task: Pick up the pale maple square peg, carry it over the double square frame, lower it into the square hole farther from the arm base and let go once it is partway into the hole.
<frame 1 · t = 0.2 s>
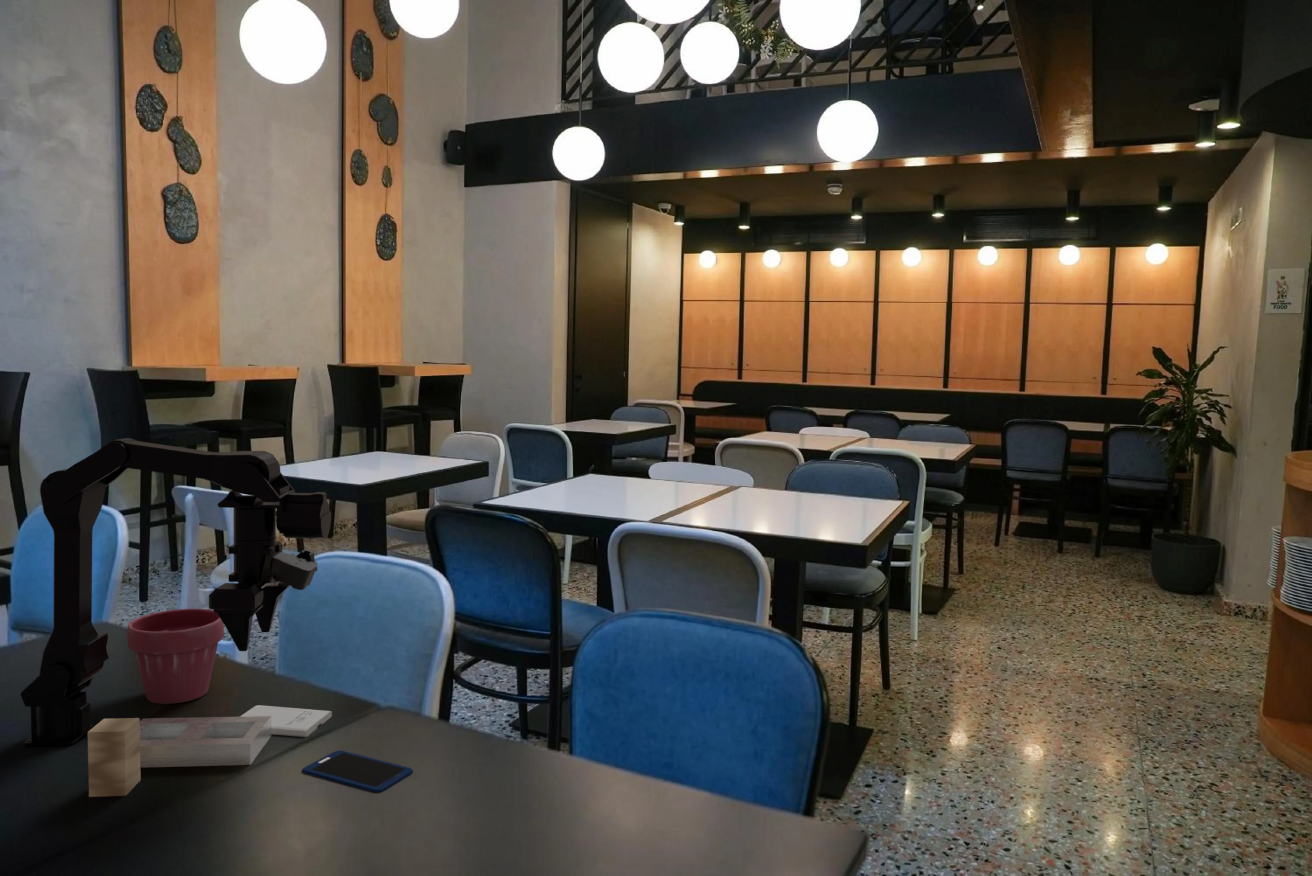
hand: (254, 641, 136), 14 cm above the table, fingers open, 9 cm apart
cell phone: (357, 775, 126), on the table
maple peg: (115, 788, 119), on the table
plant pot: (177, 695, 152), on the table
double square frame: (195, 750, 131), on the table
external hard drive: (281, 727, 142), on the table
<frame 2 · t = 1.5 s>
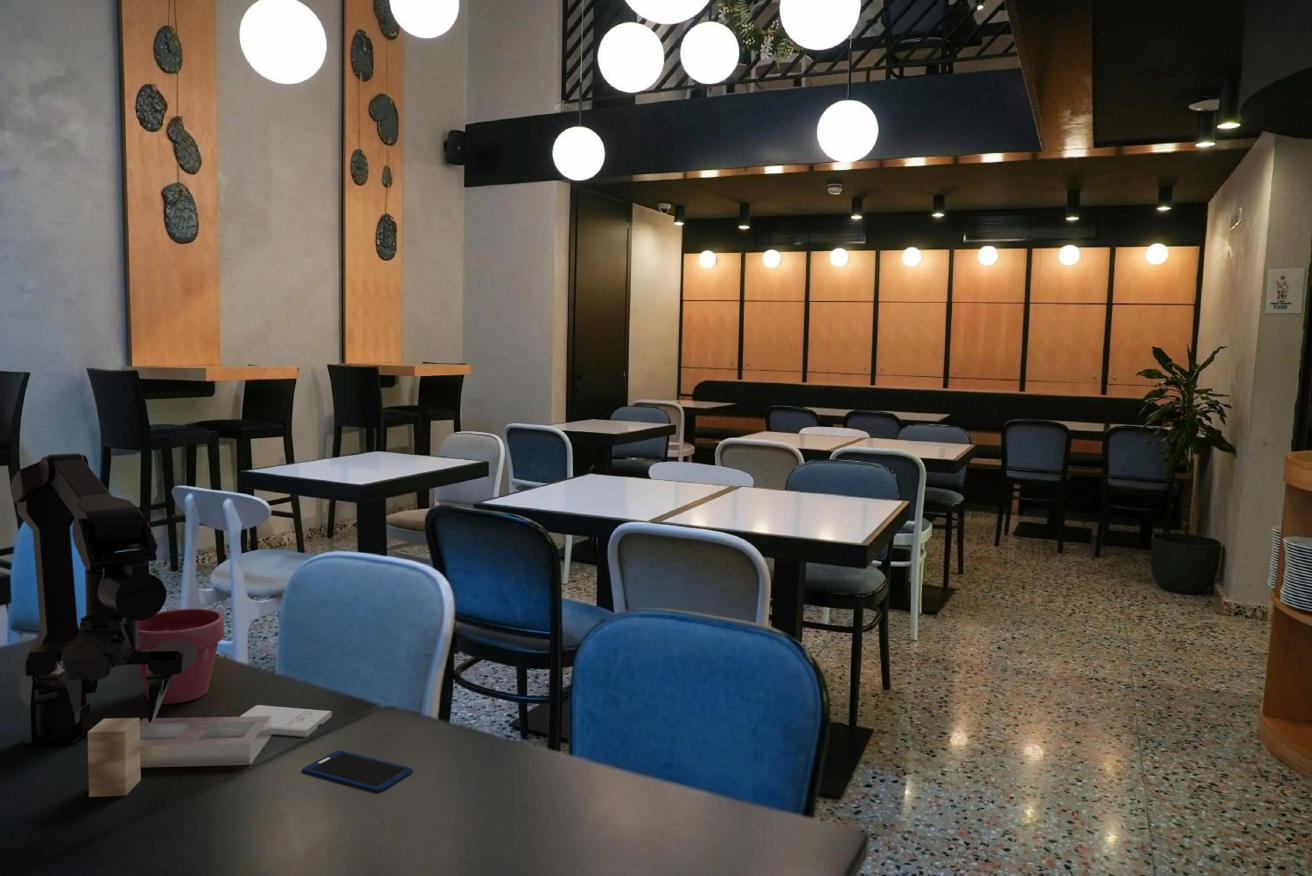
hand: (113, 722, 119), 9 cm above the table, fingers open, 9 cm apart
nothing on the table moved.
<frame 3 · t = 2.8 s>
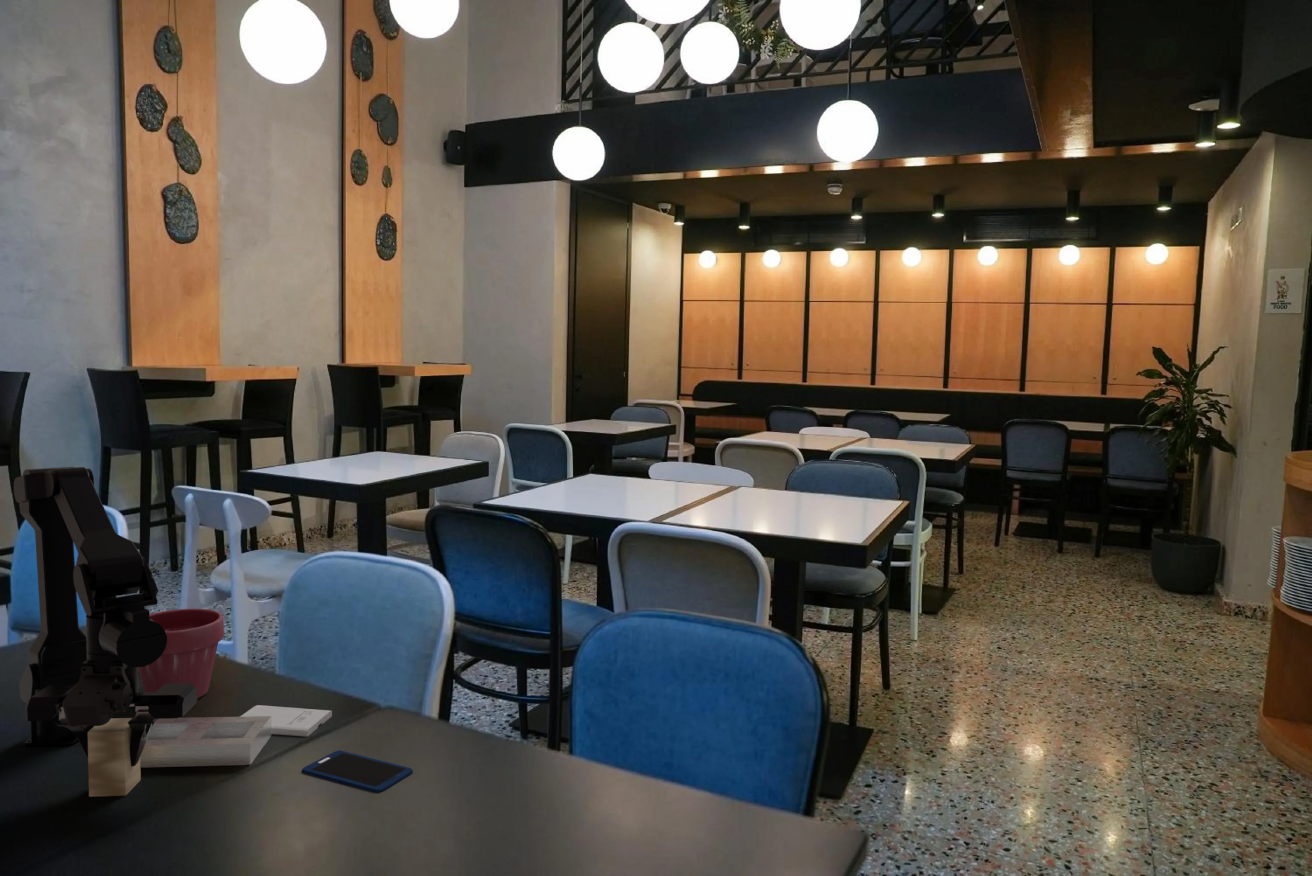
hand: (114, 765, 119), 3 cm above the table, fingers closed on maple peg, 4 cm apart
maple peg: (115, 787, 119), on the table, touching gripper
everything else where it was.
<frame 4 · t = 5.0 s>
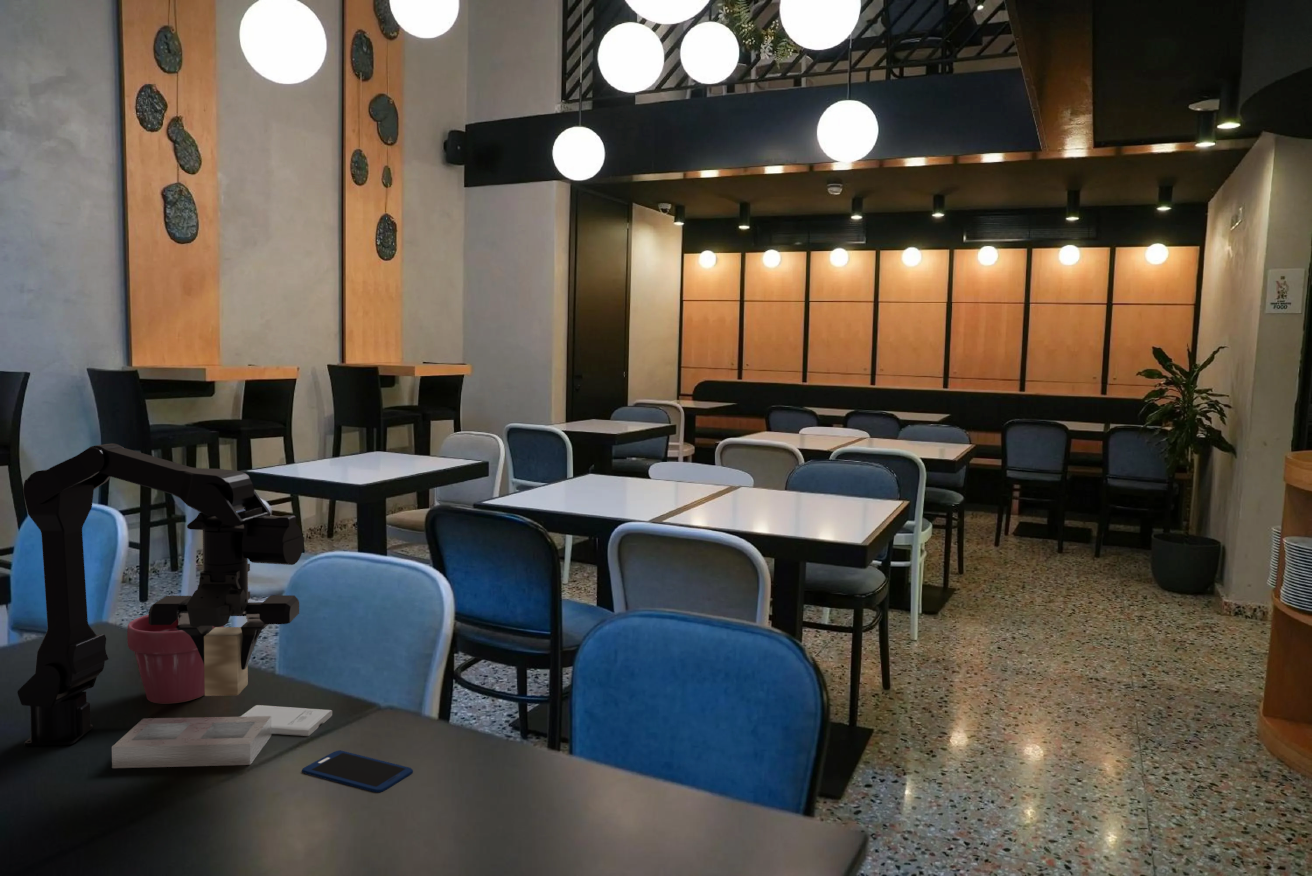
hand: (226, 668, 130), 12 cm above the table, fingers closed on maple peg, 4 cm apart
maple peg: (226, 689, 130), point 9 cm above the table, touching gripper
everything else where it was.
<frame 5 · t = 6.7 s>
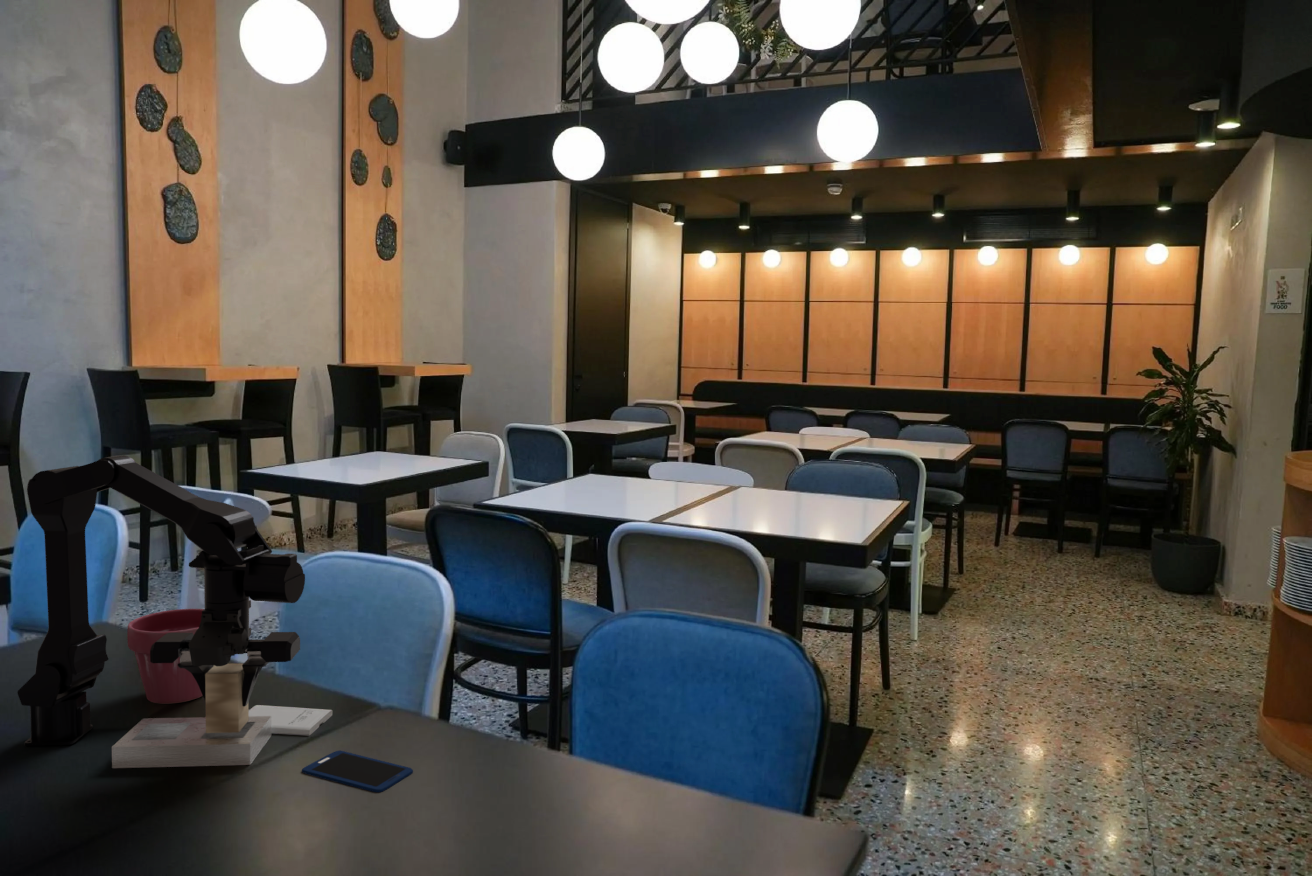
hand: (227, 705, 131), 7 cm above the table, fingers closed on maple peg, 4 cm apart
maple peg: (227, 726, 131), point 4 cm above the table, touching gripper
everything else where it was.
when the fingers open (4 cm above the table, at t = 7.7 s): maple peg stays where it is, resting in double square frame.
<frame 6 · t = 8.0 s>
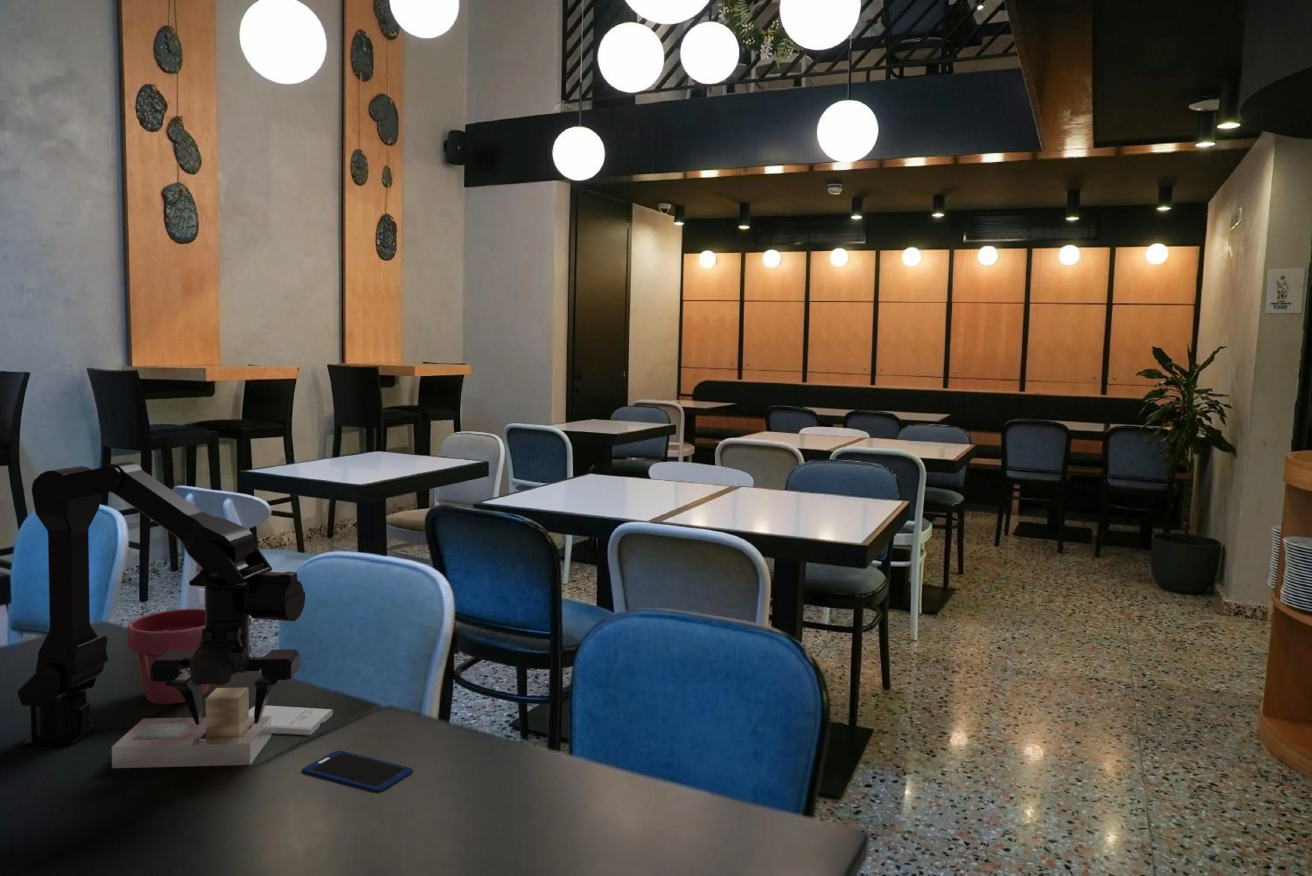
hand: (228, 723, 131), 4 cm above the table, fingers open, 8 cm apart
maple peg: (227, 750, 131), resting in double square frame
everything else where it was.
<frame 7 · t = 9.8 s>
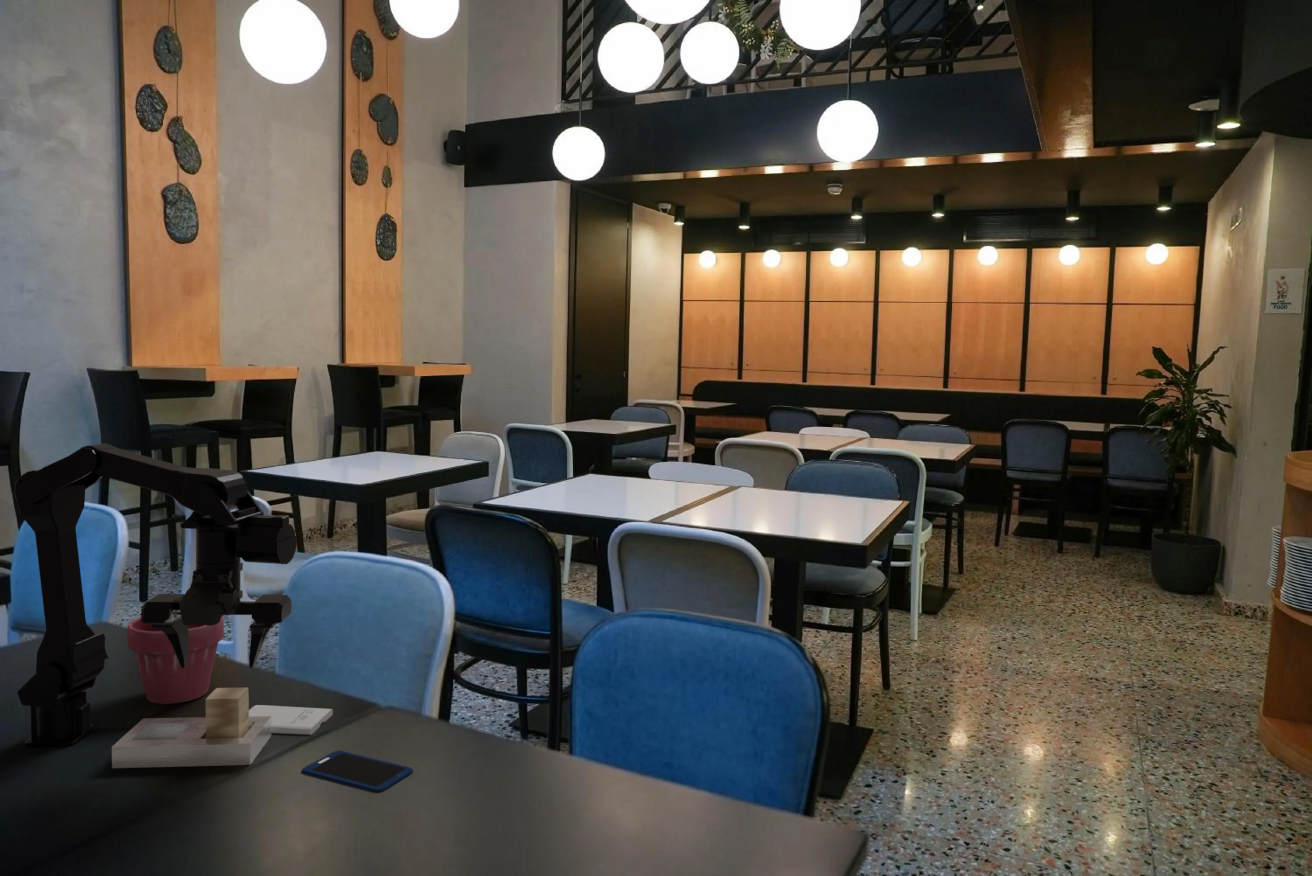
hand: (218, 667, 131), 12 cm above the table, fingers open, 9 cm apart
nothing on the table moved.
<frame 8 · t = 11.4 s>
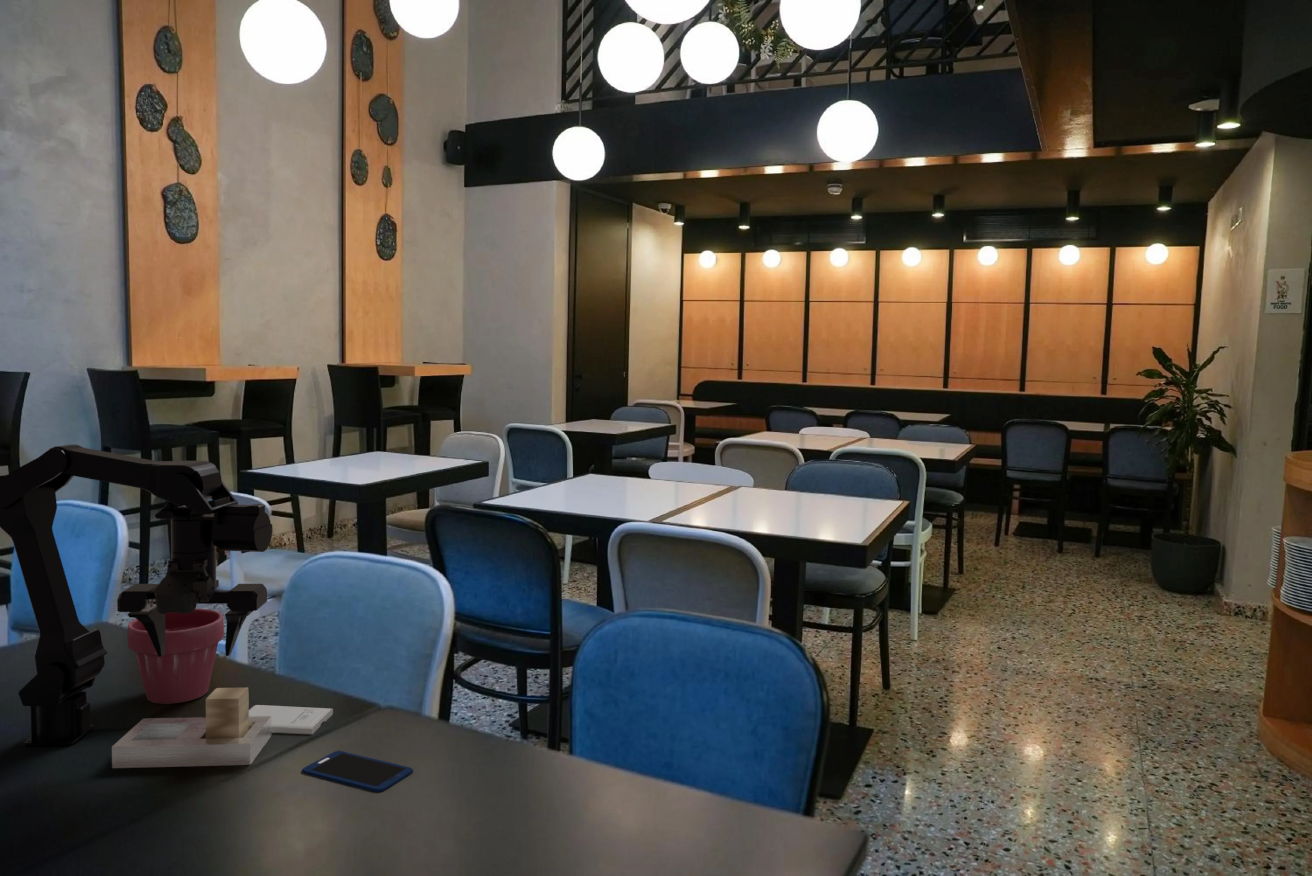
hand: (195, 655, 133), 13 cm above the table, fingers open, 9 cm apart
nothing on the table moved.
at the end: maple peg 0.1 cm from the target spot on the double square frame, point 0.0 cm above the double square frame's base; maple peg tilted 0°; the gripper is holding nothing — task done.
